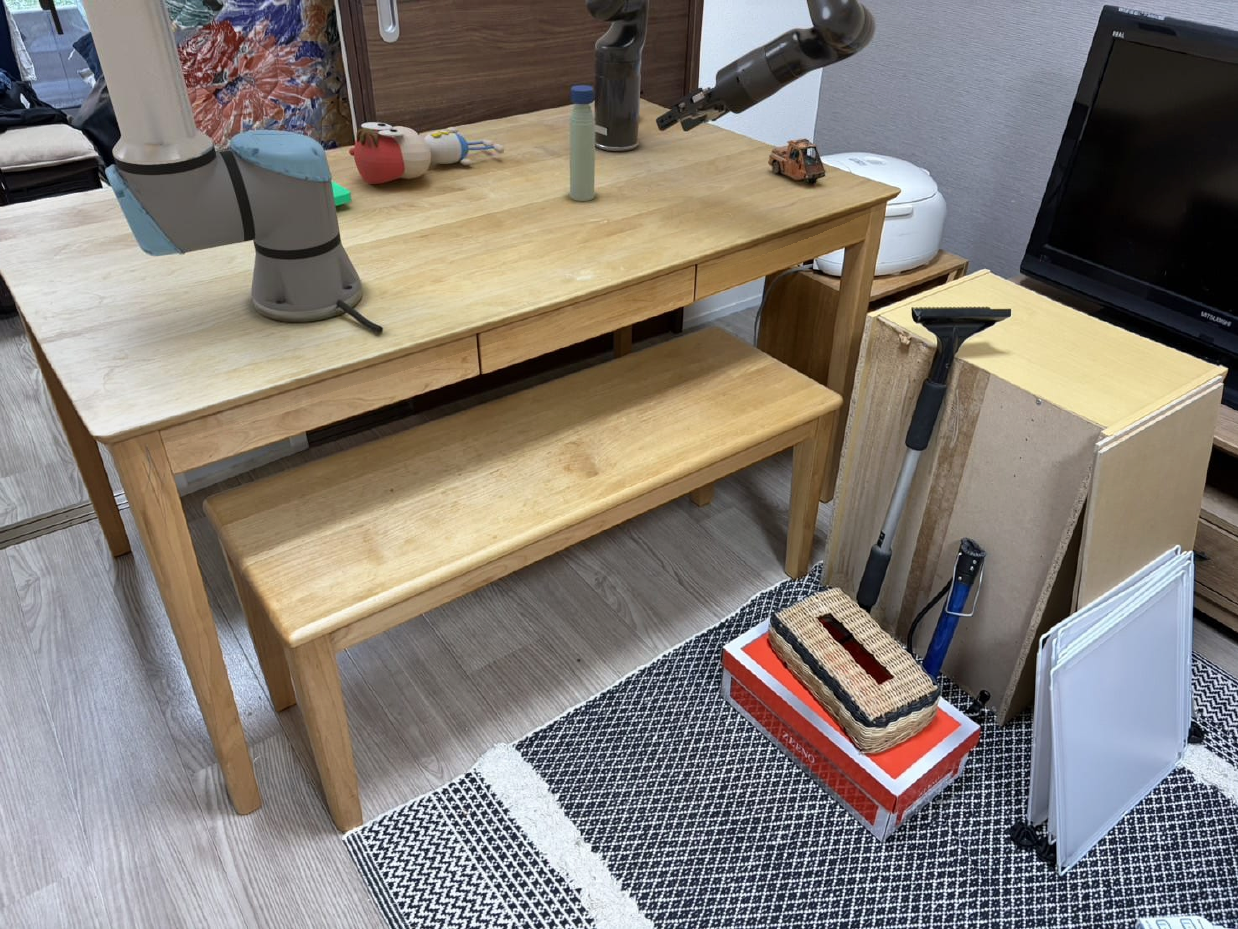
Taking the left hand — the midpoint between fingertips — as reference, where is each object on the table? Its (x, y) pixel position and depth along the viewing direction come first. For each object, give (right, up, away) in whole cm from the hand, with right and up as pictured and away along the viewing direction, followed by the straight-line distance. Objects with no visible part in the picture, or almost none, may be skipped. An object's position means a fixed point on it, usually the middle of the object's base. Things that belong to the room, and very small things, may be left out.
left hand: (108, 29), depth 146 cm
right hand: (+90, -11, +12) cm, 91 cm away
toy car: (+115, -13, +34) cm, 121 cm away
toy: (+44, -12, +33) cm, 56 cm away
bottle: (+74, -20, +24) cm, 80 cm away
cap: (+74, -5, +12) cm, 76 cm away
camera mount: (+27, -22, +18) cm, 40 cm away
